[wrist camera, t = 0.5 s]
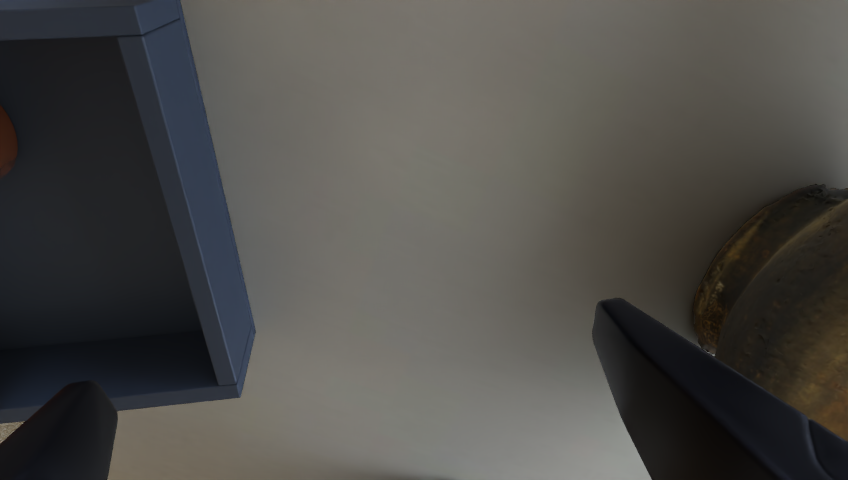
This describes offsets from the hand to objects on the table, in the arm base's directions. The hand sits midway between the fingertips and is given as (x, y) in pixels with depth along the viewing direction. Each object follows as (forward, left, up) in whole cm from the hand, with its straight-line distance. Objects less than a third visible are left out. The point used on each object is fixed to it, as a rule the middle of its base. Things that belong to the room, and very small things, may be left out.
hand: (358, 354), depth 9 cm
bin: (-3, +12, -14) cm, 19 cm away
